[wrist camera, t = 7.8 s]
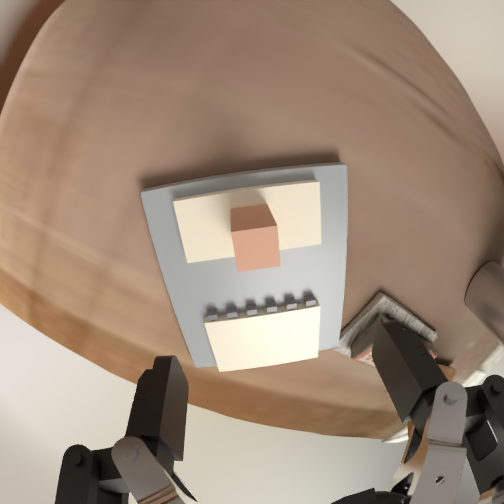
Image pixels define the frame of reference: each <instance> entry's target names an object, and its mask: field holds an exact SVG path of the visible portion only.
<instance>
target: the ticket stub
mask: <svg viewBox="0 0 504 504" xmlns="http://www.w3.org/2000/svg"><path fill="white" fill-rule="evenodd" d="M173 204H174V208H175V213H176V217H177V222H178V226H179V231H180V235H181V239H182V243H183V247H184V251H185V255H186V259H187V263H193V262H200V261H207V260H214V259H221V258H228V257H235V260H236V266H237V272H242V271H249V270H256V269H263V268H270V267H277V266H281V263H280V251H279V250H284V249H291V248H298V247H305V246H312V245H319V244H321V205H320V182H319V181H318V180H316V179H313V180H303V181H293V182H284V183H275V184H267V185H259V186H251V187H244V188H237V189H230V190H223V191H217V192H210V193H204V194H198V195H192V196H186V197H181V198H175V200H174V201H173Z"/></svg>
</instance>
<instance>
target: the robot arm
mask: <svg viewBox="0 0 504 504" xmlns="http://www.w3.org/2000/svg"><path fill="white" fill-rule="evenodd" d="M465 304H466V306H467V307H468V308H469V309H470V310H471V312H472V313H473V314H474V315H475V316H476V317H477V318H478V319H479V320H480V321H481V323H482V324H483V325H484V326H485V327H486V328H487V329H488V330H489V332H490V333H491V334H492V335H493V336H494V337H495V338H496V340H497V341H498V342H499V343H500V344H501V346H502V347H503V348H504V267H503V266H502V265H499V264H498V263H497V262H495V261H490V262H488V263H486V264H485V265H484V266H482V267H481V269H480V270H479V271H478V272H477V273H476V275H475V276H474V278H473V279H472V281H471V283H470V285H469V287H468V290H467V293H466V297H465ZM372 359H373V362H374V364H375V366H376V368H377V370H378V372H379V374H380V376H381V378H382V380H383V382H384V385H385V387H386V389H387V391H388V393H389V395H390V397H391V399H392V401H393V403H394V406H395V408H396V410H397V412H398V414H399V416H400V419H401V421H402V423H405V422H407V421H410V420H412V422H413V424H414V425H413V427H412V430H411V433H410V437H409V440H408V443H407V446H406V449H405V452H404V455H403V458H402V461H401V464H400V466H399V468H398V470H397V471H396V473H395V475H394V476H393V478H392V480H391V482H390V485H389V487H388V489H387V491H377V492H375V489H374V488H372V489H368V490H366V491H362V492H360V493H356V494H353V495H349V496H346V497H343V498H341V499H340V500H338V501H335V502H333V503H331V504H454V501H455V497H456V494H457V490H458V487H459V483H460V480H461V476H462V472H463V468H464V463H465V458H466V456H467V459H468V461H469V464H470V467H471V469H472V472H473V475H474V478H475V481H476V484H477V487H478V489H479V493H480V498H479V500H478V503H477V504H504V378H503V377H501V376H499V375H491V376H489V377H487V378H486V379H485V381H484V383H483V384H482V385H478V386H472V387H463V386H462V385H461V384H459V383H457V382H453V381H449V380H448V379H447V378H446V376H445V375H444V373H443V372H442V370H441V369H440V367H439V366H438V364H437V363H436V361H435V360H434V358H433V357H432V355H431V354H429V351H428V349H427V348H426V346H424V343H423V342H422V341H421V339H420V338H419V336H418V335H416V334H415V333H414V332H412V331H411V330H409V329H406V330H404V329H403V328H402V326H401V325H400V324H399V322H398V321H397V320H392V321H388V322H385V323H381V324H378V326H377V329H376V334H375V338H374V343H373V347H372ZM187 403H188V382H187V379H186V376H185V374H184V372H183V370H182V368H181V366H180V363H179V361H178V359H177V357H176V356H175V355H172V356H157V357H156V358H155V361H154V365H153V369H147V370H145V371H144V373H143V374H142V376H141V377H140V378H139V380H138V384H137V388H136V393H135V396H134V401H133V404H132V408H131V413H130V417H129V421H128V426H127V430H126V434H125V436H124V438H122V439H120V440H118V441H117V442H116V443H115V444H114V446H113V447H111V448H106V449H100V450H93V451H91V450H89V449H88V448H87V447H85V446H83V445H79V444H77V445H73V446H71V447H69V448H68V449H67V450H66V452H65V453H64V456H63V460H62V465H61V470H60V475H59V481H58V487H57V493H56V500H55V504H128V497H129V492H131V493H132V495H133V496H134V498H135V499H136V501H137V503H138V504H202V503H201V502H200V501H199V500H198V499H197V498H196V496H195V495H194V494H193V493H192V492H191V491H190V489H189V488H188V487H187V486H186V485H185V484H184V482H183V481H182V480H181V478H180V477H179V476H178V475H177V473H176V472H175V471H174V470H173V466H174V461H175V460H176V461H183V451H184V438H185V425H186V413H187ZM487 421H489V423H490V425H491V427H492V429H493V431H494V433H495V435H496V438H497V441H498V444H497V442H496V439H495V437H494V435H493V433H492V431H491V429H490V427H489V425H488V422H487Z"/></svg>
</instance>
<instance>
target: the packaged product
mask: <svg viewBox="0 0 504 504" xmlns="http://www.w3.org/2000/svg"><path fill="white" fill-rule="evenodd" d="M392 320H397V321H398V322H399V324H400V325H401V326H402V328H403V329H404V330H406V329H409V330H411V331H412V332H414V333H415V334H416V335H418V336H419V338H420V339H421V341H422V342H423V343H424V346H426V348H427V349H428V351H429V354H431V355H432V357H433V358H434V359H435V358H436V357H437V353H436V350H435V348H434V346H433V344H432V342H433V341H434V340H436V339H437V337H438V334H437V333H436V332H435V331H433V330H432V329H430V328H429V327H428V326H427V325H425V324H424V323H423V322H422V321H421V320H420V319H418V318H417V317H416V316H415V315H413V314H412V313H411V312H410V311H408V310H407V309H406V308H404V307H403V306H401V305H400V304H399V303H397V302H396V301H394V300H393V299H391V298H390V297H388V296H387V295H385V294H383V293H381V292H379V293H378V294H377V295H376V296H375V298H374V299H373V300H372V301H371V302H370V303H369V304H368V305H367V306H366V307H365V308H364V309H363V310H362V311H361V313H360V314H359V315H358V316H357V317H356V318H355V319H354V320H353V321H352V322H351V323H350V324H349V325H348V326H347V327H346V328H345V329H344V330H343V331H342V332H341V333H340V338H339V346H338V347H333V348H330V349H333V350H336V351H338V352H339V353H342V354H345V355H348V356H351V358H352V359H354V360H356V361H359V362H362V363H364V364H367V365H369V366H372V367H375V368H376V366H375V364H374V362H373V359H372V347H373V343H374V338H375V334H376V329H377V326H378V324H381V323H385V322H388V321H392Z"/></svg>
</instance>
